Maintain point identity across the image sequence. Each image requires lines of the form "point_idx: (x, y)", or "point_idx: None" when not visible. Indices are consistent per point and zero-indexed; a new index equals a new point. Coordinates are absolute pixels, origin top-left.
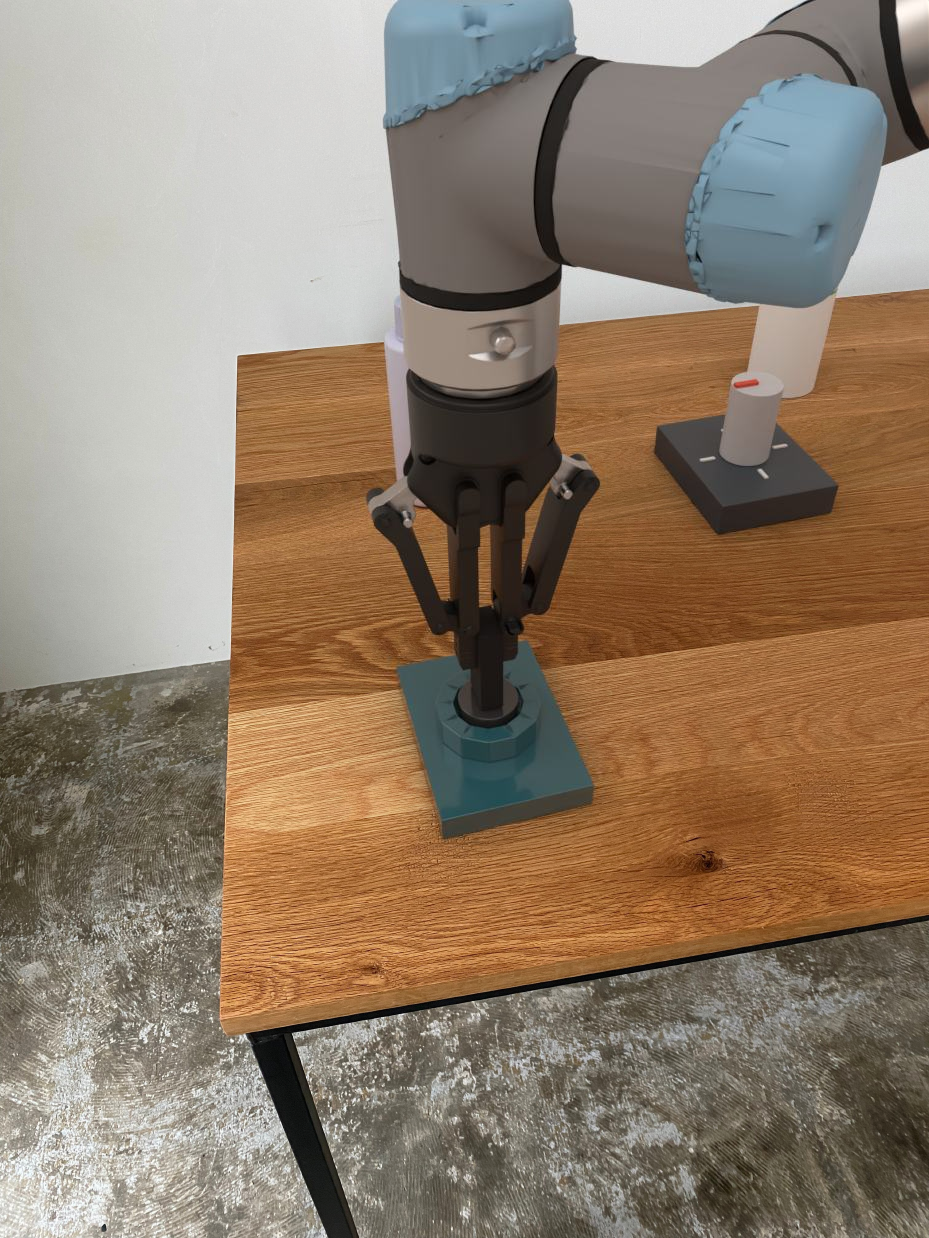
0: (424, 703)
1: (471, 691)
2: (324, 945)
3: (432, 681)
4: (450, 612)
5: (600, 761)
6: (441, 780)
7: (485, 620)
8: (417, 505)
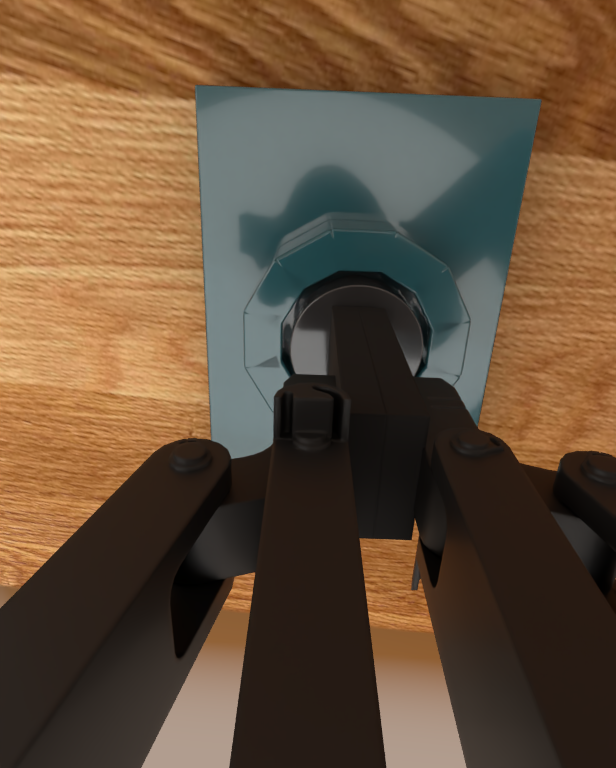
0: (238, 235)
1: (326, 326)
2: (50, 544)
3: (270, 170)
4: (243, 562)
5: (507, 404)
6: (229, 422)
7: (380, 477)
8: None
